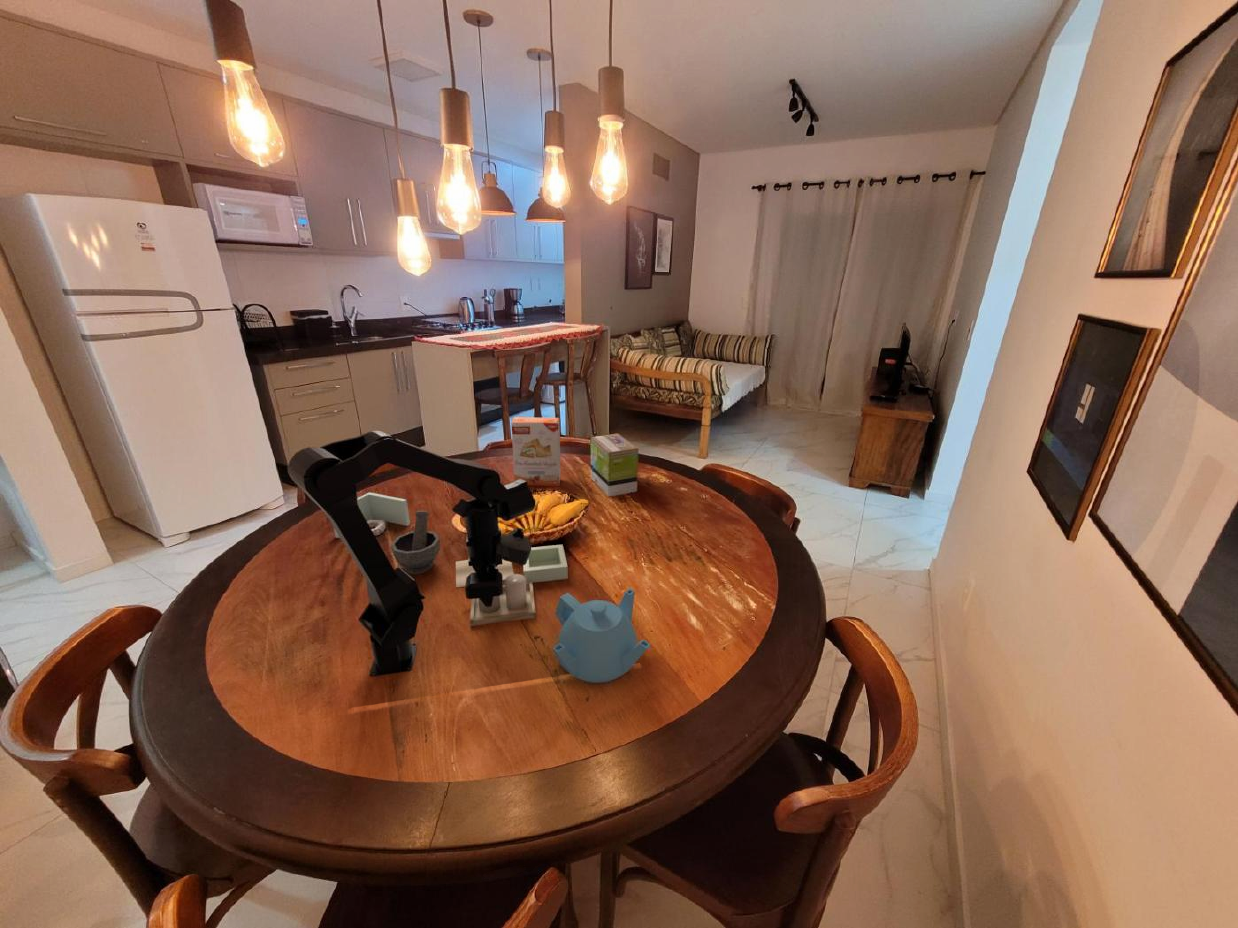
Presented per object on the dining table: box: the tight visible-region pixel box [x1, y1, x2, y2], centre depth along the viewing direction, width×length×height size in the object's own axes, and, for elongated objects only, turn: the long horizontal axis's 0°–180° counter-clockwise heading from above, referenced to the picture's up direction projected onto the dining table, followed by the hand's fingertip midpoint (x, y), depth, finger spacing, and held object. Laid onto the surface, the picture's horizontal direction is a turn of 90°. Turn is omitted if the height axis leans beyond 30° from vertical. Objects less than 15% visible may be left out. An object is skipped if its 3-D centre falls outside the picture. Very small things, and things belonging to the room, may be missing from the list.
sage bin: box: [522, 544, 569, 584], centre depth 106 cm, size 9×9×4 cm
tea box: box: [590, 433, 639, 497], centre depth 148 cm, size 15×10×15 cm, turn 25°
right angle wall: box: [333, 492, 411, 539], centre depth 120 cm, size 12×12×8 cm
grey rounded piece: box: [478, 596, 500, 613], centre depth 93 cm, size 4×4×6 cm
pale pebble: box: [504, 573, 527, 610], centre depth 94 cm, size 4×4×6 cm
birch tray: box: [469, 582, 537, 627], centre depth 95 cm, size 10×12×2 cm
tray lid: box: [455, 559, 515, 589], centre depth 105 cm, size 10×12×2 cm
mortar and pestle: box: [390, 510, 441, 575], centre depth 105 cm, size 11×9×12 cm
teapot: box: [552, 588, 652, 684], centre depth 81 cm, size 15×15×11 cm
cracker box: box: [511, 416, 561, 487], centre depth 148 cm, size 14×6×21 cm, turn 93°
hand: (489, 599), depth 94 cm, fingers closed on grey rounded piece, 4 cm apart
